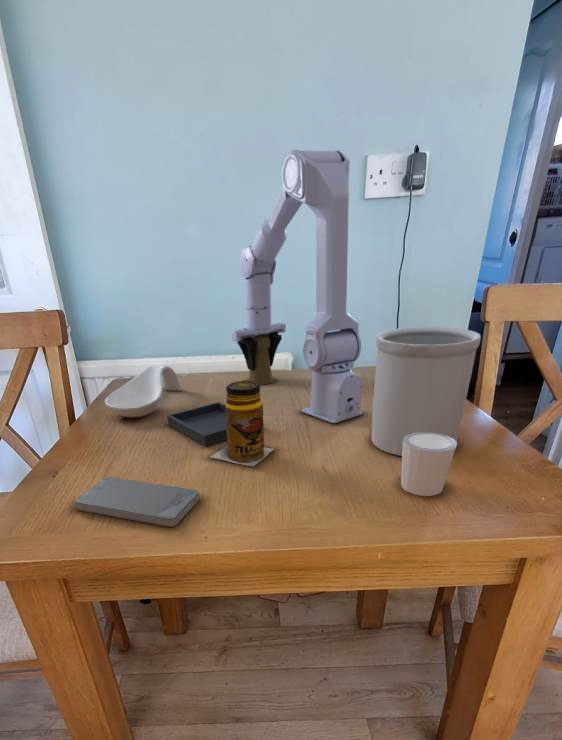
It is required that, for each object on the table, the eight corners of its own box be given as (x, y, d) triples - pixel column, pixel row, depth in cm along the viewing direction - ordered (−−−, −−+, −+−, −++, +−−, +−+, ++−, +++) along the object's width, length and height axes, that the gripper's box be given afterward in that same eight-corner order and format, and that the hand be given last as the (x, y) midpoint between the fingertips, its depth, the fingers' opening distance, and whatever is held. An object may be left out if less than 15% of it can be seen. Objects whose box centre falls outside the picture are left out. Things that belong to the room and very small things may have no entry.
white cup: (407, 471, 70) (414, 427, 66) (454, 483, 66) (464, 437, 62) (388, 489, 66) (394, 443, 62) (437, 503, 62) (447, 455, 58)
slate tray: (260, 429, 87) (260, 419, 86) (205, 446, 82) (204, 435, 81) (219, 411, 98) (219, 401, 96) (168, 425, 92) (166, 415, 91)
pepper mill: (263, 385, 112) (262, 338, 106) (243, 382, 115) (241, 336, 109) (277, 379, 116) (276, 333, 110) (257, 376, 119) (256, 331, 113)
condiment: (254, 467, 74) (251, 393, 67) (209, 458, 77) (203, 387, 71) (274, 450, 79) (273, 380, 73) (231, 442, 83) (227, 375, 77)
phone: (108, 483, 71) (107, 476, 71) (202, 498, 66) (201, 490, 65) (74, 509, 65) (72, 501, 64) (174, 528, 60) (173, 519, 59)
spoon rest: (148, 425, 92) (142, 390, 89) (97, 421, 96) (89, 387, 92) (194, 390, 111) (190, 360, 108) (150, 388, 115) (146, 358, 111)
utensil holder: (351, 433, 84) (359, 331, 75) (421, 421, 87) (437, 322, 78) (398, 466, 71) (414, 349, 62) (478, 450, 75) (505, 337, 66)
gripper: (272, 302, 113) (273, 359, 120) (223, 310, 106) (226, 369, 113) (291, 304, 108) (290, 364, 115) (240, 312, 101) (243, 375, 108)
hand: (260, 367), depth 114 cm, fingers closed on pepper mill, 5 cm apart
